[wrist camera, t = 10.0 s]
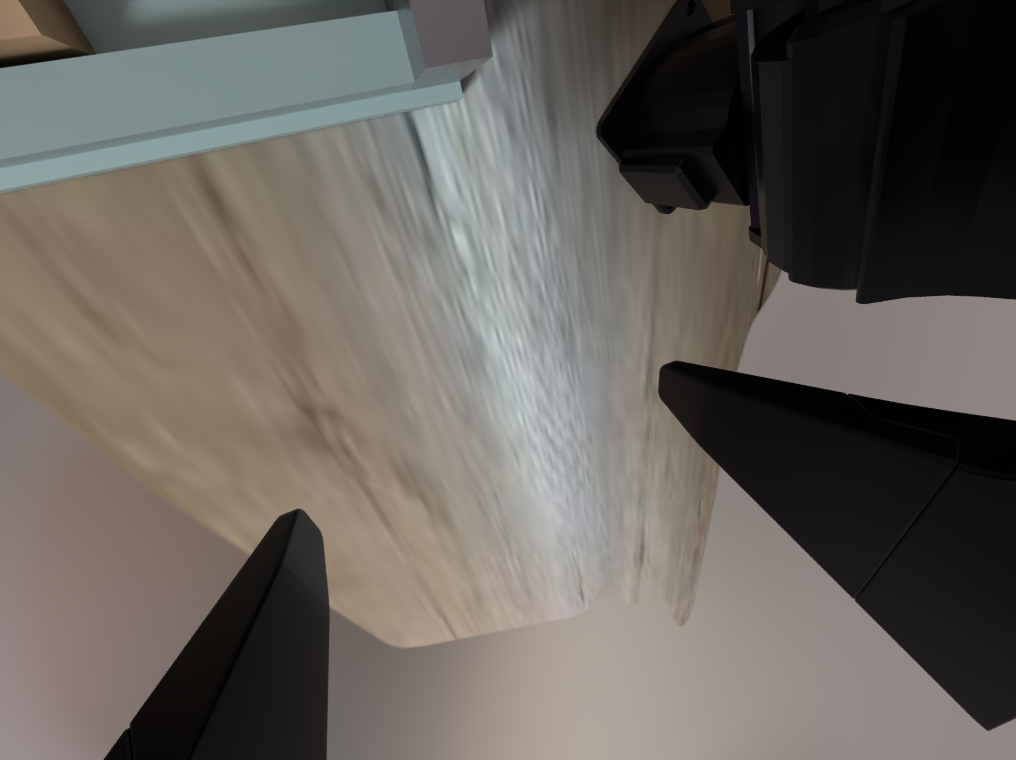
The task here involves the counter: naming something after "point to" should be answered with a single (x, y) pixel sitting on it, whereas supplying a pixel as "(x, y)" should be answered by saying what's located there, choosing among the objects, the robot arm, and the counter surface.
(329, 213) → the counter surface
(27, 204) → the counter surface
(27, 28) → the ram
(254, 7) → the board
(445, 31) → the grey angular block
